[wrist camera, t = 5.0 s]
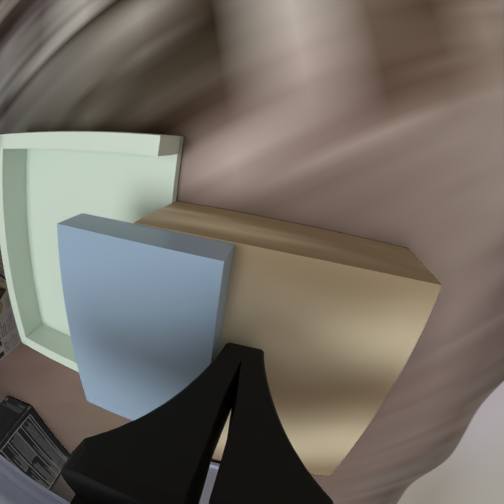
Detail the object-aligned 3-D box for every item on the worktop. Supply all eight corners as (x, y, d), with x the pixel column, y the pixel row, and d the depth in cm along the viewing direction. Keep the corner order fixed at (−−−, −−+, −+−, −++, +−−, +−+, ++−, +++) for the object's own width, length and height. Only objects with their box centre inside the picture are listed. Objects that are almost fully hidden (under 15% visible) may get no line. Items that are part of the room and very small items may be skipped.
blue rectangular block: (209, 419, 13) (201, 442, 11) (100, 382, 13) (87, 401, 12) (234, 244, 10) (224, 261, 8) (82, 213, 10) (56, 223, 9)
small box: (5, 393, 25) (-37, 440, 16) (31, 404, 24) (-15, 460, 14) (45, 445, 29) (13, 491, 19) (74, 458, 27) (41, 511, 18)
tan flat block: (328, 427, 17) (330, 475, 14) (168, 395, 18) (147, 438, 15) (407, 248, 13) (442, 285, 9) (176, 200, 14) (134, 222, 10)
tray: (168, 375, 18) (153, 402, 15) (41, 325, 18) (21, 342, 16) (184, 136, 13) (160, 135, 10) (26, 132, 13) (-3, 134, 11)
